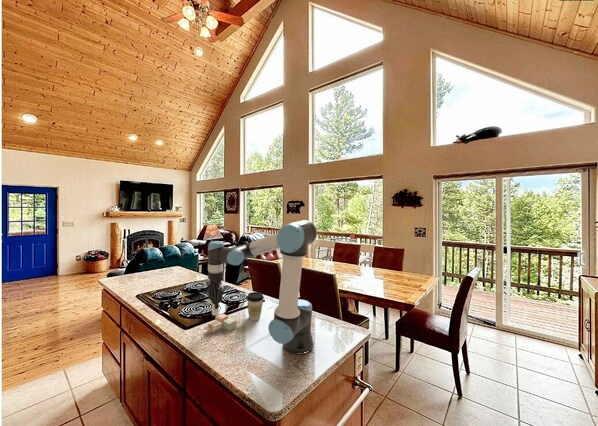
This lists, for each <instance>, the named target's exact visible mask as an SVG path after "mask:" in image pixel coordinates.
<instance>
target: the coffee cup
mask: <svg viewBox="0 0 598 426" xmlns="http://www.w3.org/2000/svg"><path fill="white" fill-rule="evenodd" d="M264 299H265V297H264V295H263V293H261V292H260V291H253V292H250V293H248V294H247V296H246V300H247V301H246V302H247V304H246V305H247V312H248V319H249V320H250V321H258V320H260V319H261V314H262V308H263V304H264V303H263V300H264Z"/></svg>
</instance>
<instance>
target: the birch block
mask: <svg viewBox="0 0 598 426" xmlns="http://www.w3.org/2000/svg"><path fill="white" fill-rule="evenodd" d="M207 326H208V330H209V332H210V333H212V334H213V335H215V333H217V332H219V331H221V330H222V323H221V322H219V321H217V320H213V321H210V322H208V324H207ZM208 330H207V331H208Z"/></svg>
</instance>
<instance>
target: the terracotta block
mask: <svg viewBox="0 0 598 426" xmlns="http://www.w3.org/2000/svg"><path fill="white" fill-rule="evenodd" d="M214 317H215V318H214V319H215V320H217V321H219V322H221V323H222V325H223V321H224V320H226V319H228V318H229V315H227V314H225V313H223V312H221V313H219V314H216V316H215V315H214Z"/></svg>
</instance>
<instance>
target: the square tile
mask: <svg viewBox="0 0 598 426" xmlns="http://www.w3.org/2000/svg"><path fill="white" fill-rule="evenodd" d="M204 329H206V330H207V331H209V330H208V325H207V326H205V327H204ZM209 332H210V331H209ZM228 332H229V331H228V330H227V329H225V328H223V325H222V330H221V331H219V332H217V333H215V334H214V335H215V336H216V337H221V336H222V335H224V334H226V333H228Z"/></svg>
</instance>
